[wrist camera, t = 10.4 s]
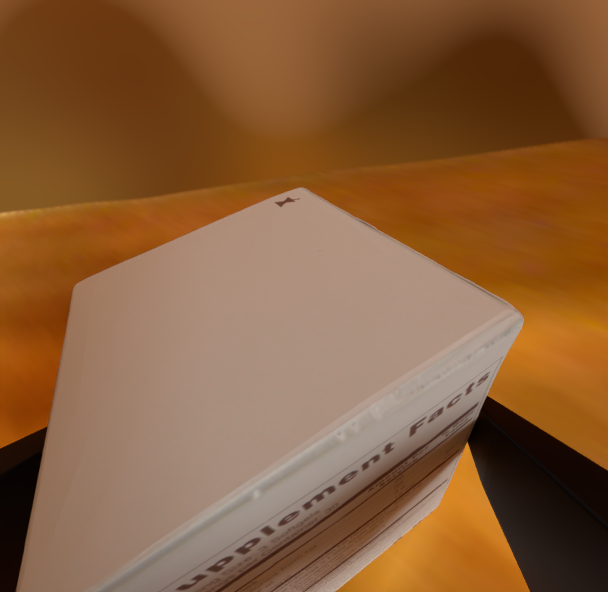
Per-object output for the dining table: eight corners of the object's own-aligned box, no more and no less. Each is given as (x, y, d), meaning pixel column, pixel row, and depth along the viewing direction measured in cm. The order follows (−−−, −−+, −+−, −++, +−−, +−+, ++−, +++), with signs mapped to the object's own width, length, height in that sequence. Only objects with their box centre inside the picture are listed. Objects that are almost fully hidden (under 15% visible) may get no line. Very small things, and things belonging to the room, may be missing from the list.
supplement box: (237, 452, 16) (66, 277, 8) (349, 383, 18) (306, 176, 9) (294, 633, 11) (-43, 687, 3) (447, 511, 12) (546, 299, 4)
